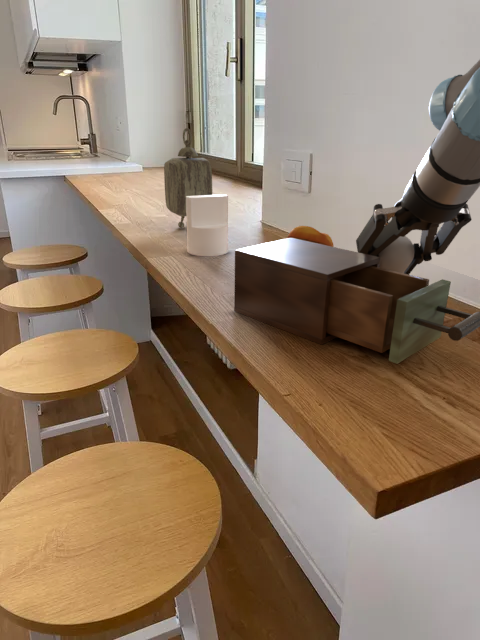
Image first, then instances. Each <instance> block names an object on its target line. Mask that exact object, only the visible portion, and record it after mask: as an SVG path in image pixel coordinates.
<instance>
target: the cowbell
mask: <svg viewBox="0 0 480 640" xmlns="http://www.w3.org/2000/svg"><path fill="white" fill-rule="evenodd" d="M186 132H188V135H189V139H186V138H185V137H186ZM182 140H183V145H185V147H182V148H181V149H180V150H179V151H178V153H177V157H172V158H171V159H168V160H167V161H165V162H164V166H163V168H164V169H163V174H164V175H163V176H164V177H163V178H164V181H163V182H164V197H165V206H166V208H167V210H169V211H170V212H171V213H173V214H174V215H177V216H179V217H181V218H180V221H179V222H178V224H177V226H178V228H180V229H183V228H184V227H185V223H184V219H185V217H187V214H186V196H196V195H213V171H212V164H211V162H210V161H209V159H207V158H205V157H198V153H197V151H196V150H195V149H194V147H190V146H191V145H192V141H193V136H192V130H191V129H190V128H188V127H185V128H184V129H183V131H182Z"/></svg>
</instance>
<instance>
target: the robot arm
mask: <svg viewBox="0 0 480 640" xmlns="http://www.w3.org/2000/svg"><path fill="white" fill-rule="evenodd" d="M428 105H429V106H428V114H429V119H430V122H431V123H432V125H433V127H434V128H436V130H438V131H439V132H438V133H437V135H436V137H435V138H434V139H433V141H432V143H431V144H430V145H429V148H428V149H427V151H426V153H425V154H424V157H423V158H422V160H421V161H420V163H419V165H418V167H417V169H416V170H415V171H414V172H413V174H412V176H411V178H410V179H409V181H408V183H407V185H406V187H405V189H404V192H403V195H402V197H401V199H399V200H398V201H397V202H395V203H394V205H393V206H390V207H383V204H381V203H376V204H375V205H373V210H372V211H373V212H372V215H371V216H370V218H369V220H368V221H367V223H366V224H365V226H364V227H363V229H362V230H361V231H360V233H359V235H358V236H357V238H356V239H355V244H356V250H357V251H356V252H358V253H363V254H368V255H372V256H377V257H379V253H380V252H381V251H383V250H384V249H385V248H386V247H388V246H389V245H390V244H391V243H393V242H394V241H395V240H396V239H397V238H399V237H400V236H401V237H404V236H407V235H408V234H409V233H411V232H412V231H421V232H420V238H419V239H420V240H419V242H418V243H412V244H413V246H414V252H415V253H414V258H413V260H412V262H411V263H410V265H409V266H408V268H407V269H406V270H405V272H404V274H408V275H411V273H412V272H413V270H414V269H415V268H416V267H417V266H418V265H420V264H422V263H423V262H430V261H432V259H433V258H432V254H434V253H435V255H436V256H440V255H443V254H444V253H445V252H446V250H447V249H448V248H449V246H450V245H451V243H452V242H453V241H454V240H455V238H456V237H457V235H458V233H460V231H461V229H463V228H464V227H465V226H466V225H468V224H469V223H470V222H471V221H472V216H471V212H470V208H469V205H468V201H470V199H471V198H472V196H473V195H474V194H475V193H476V192H477V190H478V189H479V188H480V59H478V60H477V61H476V63H474V65H473V66H471V68H469V70H468V71H467V72H466V73H464V74H457V75H454V76H453V77H448V78H446V79H444V80H442V81H441V82H440V83H439V84H438V85H437V86H436V87H435V89H434V90H433V92H432V94H431V96H430V100H429V103H428ZM441 224H442V225H441ZM440 225H441V226H440ZM438 229H439V230H438Z"/></svg>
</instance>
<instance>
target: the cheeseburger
mask: <svg viewBox="0 0 480 640" xmlns="http://www.w3.org/2000/svg"><path fill="white" fill-rule="evenodd" d="M286 238H295V239H299V240H304V241H309V242H313V243H318V244H322V245H327V246H331V247H335V246H334V245H335V244H334V242H333V240H332V237H331V236H330V235H329V234H328V233H326V232H320V231H319V230H317V229H316V228H314V227H312V226H307V225H298V226H296V227H294V228H293V229H291V231H290V232H289V233H288V235H287V237H286Z"/></svg>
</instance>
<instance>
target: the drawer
mask: <svg viewBox="0 0 480 640" xmlns="http://www.w3.org/2000/svg"><path fill="white" fill-rule="evenodd" d="M451 283H452V281H451V280H448V279H447V280H446V279H443V278H442V279H440V280H438V281H435V282H433V283H431V284H430V279H429V278H425V277H420V276H416V275H413V274H409V275H408V274H404V273H400V272H396V271H391V270H387V269H383V268H379V267H374V266H369V267H366V268H363V269H360V270H357V271H354V272H351V273H348V274H345V275H342V276H339V277H336V278H333V279H330V291H329V303H328V314H327V325H326V333H328V334H331V335H333V336H336V337H337V338H339V339H342V340H345V341H346V342H347V341H348V342H350V343H352V344H356V345H359V346H362V347H364V348H367V349H370V350H373V351H375V352H378V353H380V354H383V353H385V352H387V351H388V350H389V355H388V362H391V363H393V364H397V365H398V364H400V363H402V362H403V361H406V360H407V359H408V358H409V357H411V356H413V355H414V354H416V353H418V352H419V351H421V350H422V349H424V348H426V347H428V346H429V345H430V344H433V343H434V342H435V341H438V339H439V340H440V339H441V337H442V333H444V334H447V336H448V337H449V338H450V340H452V341H455V342H458V341H460V340H461V339H463V338H465V337H466V336H468V335H470V334H471V333H472V332H474V331H475V330H477V329H479V328H480V311H476V312H474V313H469V312H465V311H462V310H458V309H454V308H451V307H447V305H448V300H449V294H450V289H451ZM446 314H447V315H451V316H454V317H458V318H461V319H462V320H461V321H460V322H458V323H456V324H455V325H453V326H451V327H450V326H447V325H444V322H445V316H446Z"/></svg>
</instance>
